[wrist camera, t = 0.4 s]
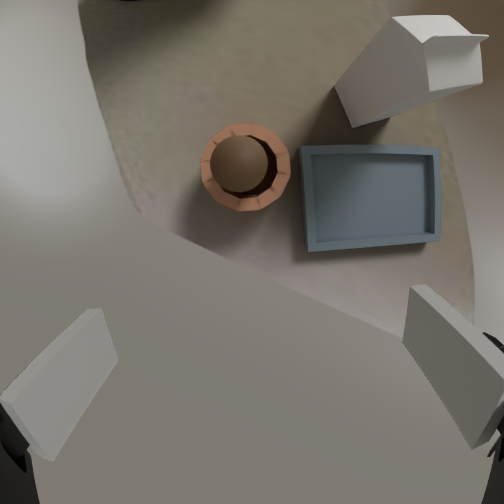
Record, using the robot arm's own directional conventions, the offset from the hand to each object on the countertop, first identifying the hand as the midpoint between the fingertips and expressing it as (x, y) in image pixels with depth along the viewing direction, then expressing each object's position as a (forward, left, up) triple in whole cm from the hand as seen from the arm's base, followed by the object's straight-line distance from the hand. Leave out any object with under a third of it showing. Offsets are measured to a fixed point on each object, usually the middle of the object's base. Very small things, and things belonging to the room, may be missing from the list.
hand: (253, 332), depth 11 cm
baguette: (-7, -1, -25) cm, 25 cm away
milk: (-15, +14, -26) cm, 33 cm away
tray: (-3, +14, -25) cm, 29 cm away
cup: (-7, -1, -25) cm, 26 cm away
